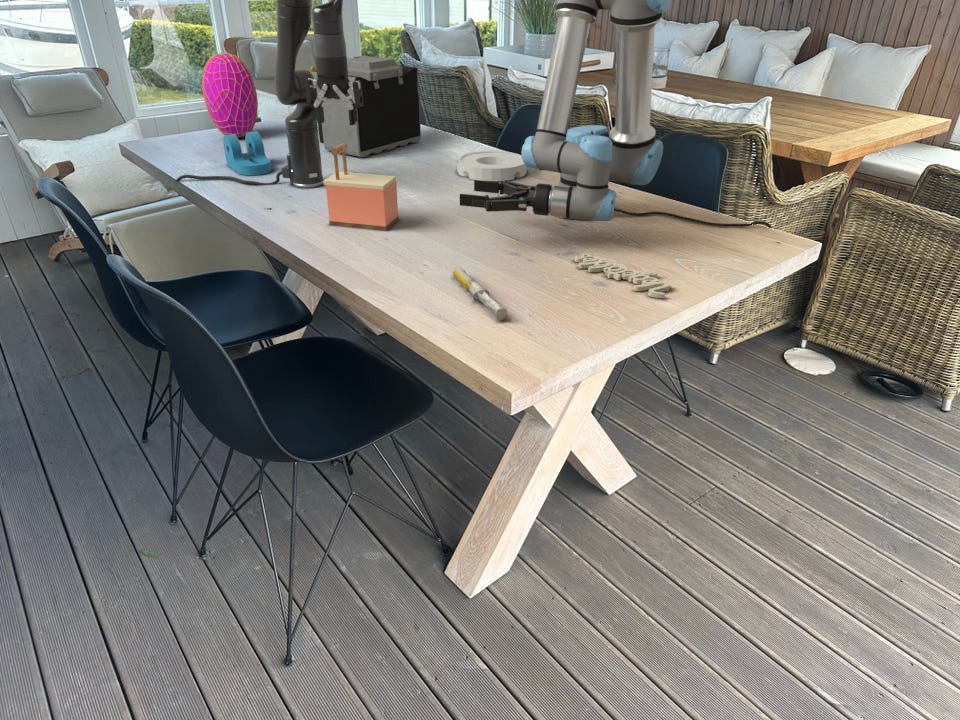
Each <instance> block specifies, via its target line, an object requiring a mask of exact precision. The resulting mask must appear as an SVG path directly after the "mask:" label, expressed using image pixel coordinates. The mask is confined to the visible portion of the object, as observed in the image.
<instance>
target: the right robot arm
mask: <svg viewBox="0 0 960 720" xmlns="http://www.w3.org/2000/svg"><path fill="white" fill-rule="evenodd" d="M671 3H672V0H557V1H556V7H555V11H554V14H555V16H556V18H557V19H558V20H557V25H556V29H555V34H554V39H553V45H552V50H551V55H550V59H549V65H548V69H547V70H548V71H547V75H546V79H545V86H544V90H543V96H542V101H541V106H540V111H539V116H538V120H537V126H536V130H535V135H529V136H528V137H526V138H525V140H524V144H522V147H521V155H522V161H523V163H524V164H525V165H526V166H527V168H530V169H534V170H538V171H541V172H542V171H544V172H545V171H546V172H552V173H559V174H560V175H559V177H560V178H559V184H554V185H552V184H549V183H541V182H540V183H537V184H536V185H528V184H523V183H520V182H515V181H512V180H505V181H481V180H474V179H473V181H474V182H473V192H479V193H480V192H481V193H492V194H499V196H490V195H488V194H485V195H478V194H467V193H460V194H459V206H461V207H471V208H481V209H485V212H488V213H491V212H509V211H511V212H514V211H519V212H526V211H527V209H528V208H529V207H531V208H532V212H533V215H537V216H545V217H546V216H549V215H550V216H551V217H557V218H559V219H560V220H562V219H567V220H568V219H569V220H577V221H592V222H594V221H595V222H609V221H611V220H612V219H613V216H614V212H617V213H621V214H624V215H627V216H632V217H633V216H635V217H636V216H637V217H641V216H642V217H643V216H650V215H660V216H661V215H662V216H667V217H672V218H676V219H681V220H684V221H689V222H692V223H693V222H694V223H698V224H702V225H707V226H716V227H741V228H742V227H750V226H754V225H764V226H766V227H767V228H768V229H772V228H773V226H772V225H771V224H770V223H769V222H766V221H763V220H757V221H752V222H750V223H751V224H747V223H748V222H747V223H724V222H723V223H722V222H721V223H720V222H711V221H706V220H701V219H697V218H692V217H688V216H684V215H683V216H682V215H678V214H675V213H671V212H665V211H645V212H630V211H626V210H624V209H620V208H616V206H615V205H616V198H617V192H616V191H615V190H614V189H610V188H609V182H610V181H612V182H617V183H624V184H629V185H631V186H632V185H637V186H647V185H648V184H650V183H651V181H652V180H653V179H654V177H655V175H656V174H657V172H658V169H659V167H660V164H661V161H662V157H663V154H664V153H663V152H664V144H663V142H662V141H661V140H659V139H656V134H657V133H656V129H655V127H653V126H652V125H651V113H652V112H651V109H652V90H653V89H652V88H653V72H654V71H653V69H654V68H653V67H654V50H655V45H654V44H655V31H656V25H657V24H658V23H659V22H660V20H662V17H663V13H665V12H667V10H668V9H669V8H670V5H671ZM600 10H603V11H604V10H605V11H606V10H607V11H609V23H610V24H612V25H613V26H614V27H615V29H616V43H615V46H616V47H615V48H616V49H615V52H616V53H615V113H614V114H615V117H614V118H615V120H614V126H613V127H612V128H611V129H610V130H609V129H608V127H607V126H606V125H602V124H601V125H599V124H591V125H589V124H588V125H581V126H576V127H575V126H573V127H571V128H569V126H570V121H571V116H572V111H573V107H574V102H575V99H576V95H577V94H576V92H577V89H578V84H579V80H580V75H581V69H582V67H583V66H582V65H583V61H584V56H585V51H586V47H587V41H588V37H589V33H590V29H591V28H590V27H591V25H592V24H594V23H595V22H596V20H597V16H598V12H599V11H600ZM752 224H753V225H752Z"/></svg>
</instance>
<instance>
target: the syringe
mask: <svg viewBox="0 0 960 720" xmlns="http://www.w3.org/2000/svg"><path fill="white" fill-rule="evenodd" d="M452 274H453V277H454V279H455V280H457V281H458V282H459V283H460V285H462V287H464V289H466V290H467V291H468V293H470V295H471V296H472V298H473V300H474V302H477V303H478V302H480V303H482V304H483V305H484V306H485V307H486V308H487V309H488V310H489V311H490V312H491V313H492V314H493V315H494V316H495V317H496V320H497V321H503V320H504V319H506V318H507V317H509V314H508V310H507V308H506V307H502V306H501V305H500V303H498V302H497V301H496V300H494V299H493V298H492V297H491V296H490V295H491V293H490V290H488V289H486V288H483V287H482V286H481V285H480V284H479V283H478V282H477V281H476V280H474V278H473V277H471V275H469V274H468V273H467V272H466V270H465V269H464V268H463V267H462V266H456V267H454V268H453V271H452Z"/></svg>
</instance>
